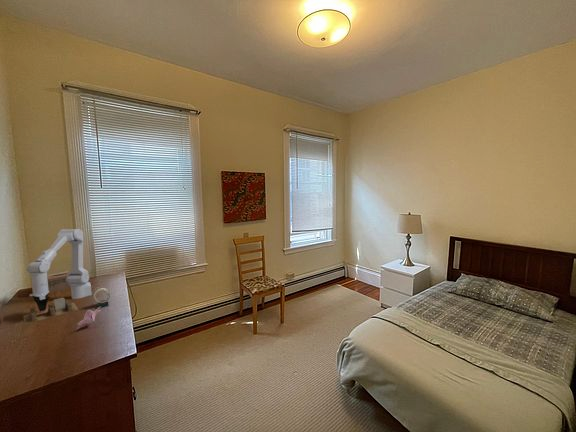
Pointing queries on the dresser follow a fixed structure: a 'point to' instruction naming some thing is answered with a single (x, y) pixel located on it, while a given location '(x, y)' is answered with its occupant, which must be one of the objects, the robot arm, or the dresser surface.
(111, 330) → the dresser surface
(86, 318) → the lily
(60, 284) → the tissue box cover
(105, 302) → the watch
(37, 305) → the terracotta plug
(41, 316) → the cable comb
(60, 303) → the grey plug
